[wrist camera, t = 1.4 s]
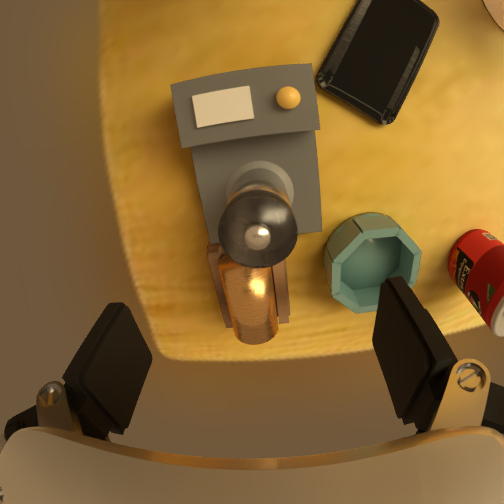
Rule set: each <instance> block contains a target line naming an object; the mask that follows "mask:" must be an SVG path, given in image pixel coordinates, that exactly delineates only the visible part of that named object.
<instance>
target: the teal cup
mask: <svg viewBox="0 0 504 504" xmlns="http://www.w3.org/2000/svg"><path fill="white" fill-rule="evenodd" d="M420 258H421V250H420V248H419V247H418V246H417V245H416V244H415V243H414V242H413V240H412V239H411V238H410V237H409V236H408V235H407V234H406V233H405V232H404V230H403V229H402V228H401V227H400V226H399V225H398V224H397V223H396V222H395V221H394V220H393V219H392V218H391V217H390V216H387V215H384V214H381V213H375V212H367V213H361V214H358V215H355V216H353V217H350V218H349V219H347V220H345V221H344V222H343V223H341V224H340V225H339V226H338V227H337V228H336V229H335V230H334V232H333V233H332V234H331V236H330V237H329V239H328V241H327V244H326V247H325V250H324V266H325V270H326V279H327V282H328V285H329V288H330V292H331V295H332V297H333V298H335V299H336V300H337V301H339V302H340V303H342V304H343V305H345V306H346V307H347V308H349V309H350V310H352V311H353V312H354V313H357V314H359V313H365V312H371V311H377V307H378V300H379V293H380V286H381V283H384V282H385V280H386V278H389V277H396V276H402V277H403V278H404V280H405V281H406V282H407V284H408V285H409V287H410V288H412V287H413V286H414V285H415V284H414V283H416V281H417V276H418V270H419V265H420Z"/></svg>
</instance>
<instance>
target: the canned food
mask: <svg viewBox="0 0 504 504" xmlns="http://www.w3.org/2000/svg"><path fill="white" fill-rule="evenodd" d="M448 270H449V273H450V276H451V278H452V280H453V281H454V283H455V284H456V285H457V286H458V288H459V289H460V290H461V291H462V292H463V294H464V295H465V296H466V297H467V299H468V300H469V301H470V303H471V304H472V305H473V306H474V308H475V309H476V310H477V312H478V313H479V314H480V316H481V317H482V318H483V320H484V321H485V323H486V324H487V325H488V326H489V328H490V329H491V330H492V332H493V333H494V334H495V335H496V336H499V337H502V336H504V244H503V243H501V242H500V241H499V240H498V239H496V238H495V237H494V236H493V235H491V234H490V233H489V232H487V231H485V230H481V229H474V230H471V231H469V232H467V233H465V234H464V235H463V236H462V237H461V238H460V239H459V240H458V241H457V242H456V244H455V245H454V247H453V249H452V251H451V253H450V256H449V261H448Z"/></svg>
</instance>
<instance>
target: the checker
mask: <svg viewBox="0 0 504 504" xmlns="http://www.w3.org/2000/svg"><path fill="white" fill-rule="evenodd" d="M170 86H171V92H172V98H173V104H174V109H175V115H176V121H177V126H178V131H179V137H180V142H181V147H182V148H187V147H190V148H191V153H192V158H193V164H194V169H195V174H196V179H197V184H198V188H199V193H200V198H201V203H202V207H203V212H204V217H205V221H206V226H207V230H208V235H209V239H210V244H212V243H220V241H219V237H218V226H219V222H220V219H221V216H222V214H223V211H224V209H225V207H226V206H227V203H228V201H229V198H230V196H231V193H232V190H233V188H234V185H235V183H236V181H237V180H238V178H239V177H240V176H241V175H242V174H243V173H245V172H246V171H248V170H251V169H255V168H264V169H268V170H271V171H273V172H275V173H276V174H277V175H279V176H280V178H281V179H282V180H283V182H284V184H285V187H286V190H287V194H288V197H289V201H290V204H291V208H292V211H293V213H294V216H295V220H296V223H297V229H298V234H302V233H312V232H322V218H321V199H320V184H319V171H318V159H317V148H316V138H315V130H320V123H319V114H318V106H317V98H316V91H315V83H314V77H313V70H312V64H311V63H310V64H292V65H279V66H269V67H260V68H252V69H245V70H238V71H232V72H226V73H220V74H215V75H210V76H205V77H200V78H196V79H191V80H187V81H183V82H179V83H175V84H171V85H170Z"/></svg>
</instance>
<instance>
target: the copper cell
mask: <svg viewBox="0 0 504 504" xmlns="http://www.w3.org/2000/svg"><path fill="white" fill-rule="evenodd" d="M218 267H219V271H220V275H221V279H222V284H223V288H224V292H225V296H226V300H227V304H228V308H229V313H230V317H231V321H232V324H233V328H234V332H235V336H236V337H237V339H238V340H240V341H241V342H243V343H246V344H251V345H256V344H262V343H265V342H267V341H269V340H271V339H272V338H273V337H274V336H275V335H276V333H277V331H278V320H277V312H276V304H275V295H274V287H273V279H272V271H271V267H267V268H250V267H246V266H243V265H241V264H238V263H237V262H235V261H234V260H232V259H231V258H230V257H229V256H228V255H227V254H225V255H224V256H223V257H222V258H221V259H220V260H219V262H218Z"/></svg>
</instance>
